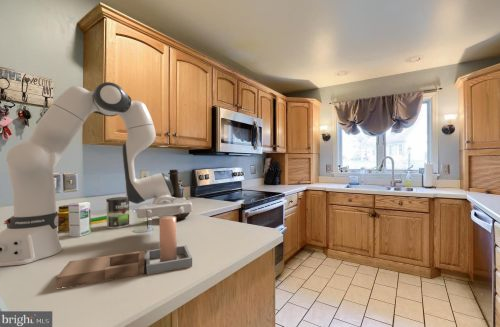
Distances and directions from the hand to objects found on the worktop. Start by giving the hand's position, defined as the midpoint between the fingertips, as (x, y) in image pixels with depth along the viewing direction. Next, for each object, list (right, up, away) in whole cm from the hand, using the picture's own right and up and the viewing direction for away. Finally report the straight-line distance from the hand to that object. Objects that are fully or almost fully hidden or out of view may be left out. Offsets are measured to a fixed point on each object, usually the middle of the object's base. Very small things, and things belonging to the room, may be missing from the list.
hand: (166, 212), depth 87 cm
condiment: (-58, -15, +28) cm, 66 cm away
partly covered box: (-11, -13, -18) cm, 25 cm away
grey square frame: (+5, -13, -11) cm, 18 cm away
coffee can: (-37, -14, +35) cm, 53 cm away
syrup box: (-46, -14, +21) cm, 52 cm away
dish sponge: (-52, -15, +46) cm, 71 cm away
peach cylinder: (+5, -13, -11) cm, 18 cm away
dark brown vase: (-12, -14, +49) cm, 52 cm away
